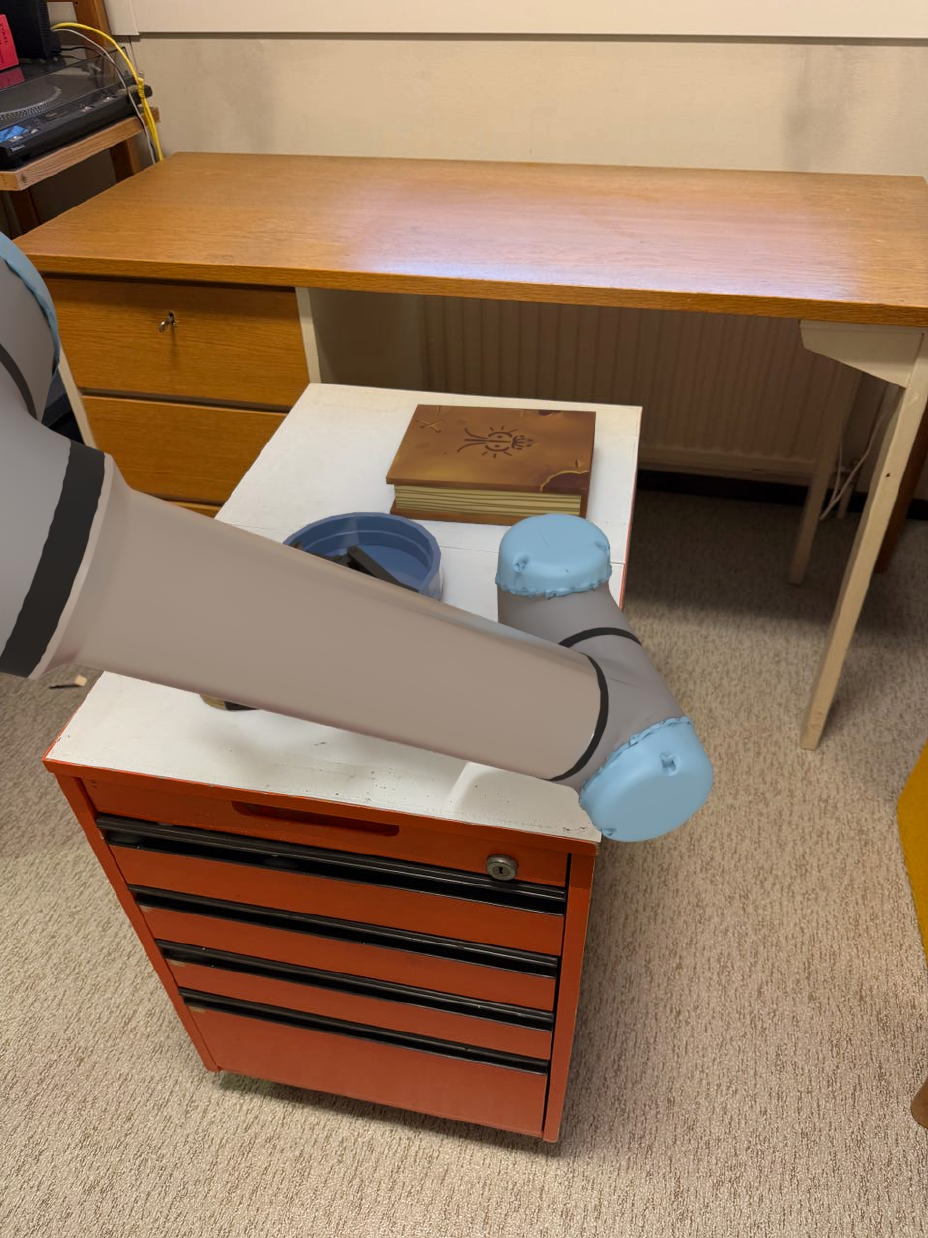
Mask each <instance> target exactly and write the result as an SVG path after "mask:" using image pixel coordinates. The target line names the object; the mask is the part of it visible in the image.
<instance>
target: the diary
mask: <svg viewBox="0 0 928 1238" xmlns="http://www.w3.org/2000/svg"><path fill="white" fill-rule="evenodd" d="M596 421H597V410H595V411H594V410H569V409H546V408H543V409H542V408H520V407H519V408H518V407H499V406H498V407H497V406H496V407H494V406H473V405H471V406H470V405H448V404H447V405H446V404H425V403H421V404H420V403H418V404H417V405H416V407H415V409H414V411H413V414H412V416H411V418H410V421H409V423H408V425H407V428H406V430H405V432H404V435H403V437H402V439H401V442H400V444H399V446H398V448H397V450H396V453H395V455H394V457H393V460H392V462H391V464H390V466H389V469H388V471H387V473H386V475H385V485H390V486H391V485H393V491H394V500H393V502H392V505H391V507H390V509H389V514H392V515H397V516H402V517H405V518H407V519H409V520H419V521H420V520H421V521H434V522H435V521H438V522H453V523H469V524H484V525H485V524H486V525H500V526H501V525H502V526H513V525H515V524H516V523H518V522H520V521H522V520H524V519H526V518H528V517H532V516H541V515H546V514H548V513H560V514H568V515H574V516H577V517H580V518H583V519H586V520H587V513H588V511H587V510H588V502H589V493H590V486H591V485H590V484H591V476H592V470H593V469H592V467H593V460H594V450H595V436H596V424H597V423H596Z"/></svg>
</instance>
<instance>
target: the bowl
mask: <svg viewBox="0 0 928 1238" xmlns="http://www.w3.org/2000/svg"><path fill="white" fill-rule="evenodd" d="M299 541H301V544H302V547H303V551H304V552H305V551H313V552H316V553H320V554H324V555H327V556H331V557H332V556H334V555H341V556H342V555H344V554H346V553H347V548H348V547H350V546H357V547H359V548H360V549H361V550H363V551H364V552H365V553H366V554H367V555H369V556H370V557H371V558H372V559H373V560H374V561H376V562H377V563H378V564H379V565H380V566H382V567H383V568H384V569H385V570H386V571H387V572H389V573H390V574H391V575H392V576H393V577H394V578H396V579H397V580H398V581H399V582H400V583H403V584H406V585H408V586H411V587H413V588H416V589H418V591H419V594H421V595H424V596H427V597H430V598H432V599H435V600H438V601H440V599H441V597H442V592H443V585H444V584H443V583H444V575H443V557H442V556H443V555H442V550H441V549H440V546H439V544H438V541H437V539H436V537H435V536H434V535H433V534H432V533H431V532H430V531H429V530H428V529H427V528H426V527H424V526H423V525H422V524H420V523H418V522H416V521H414V520H412V519H407V518H405V517H402V516H397V515H392V514H390V513H386V512H380V511H353V512H347V513H341V514H335V515H330V516H327V517H323V518H322V519H319V520H316V521H314V522H313V521H312V522H310V523H308V524H306V525H305V526H303V527H301V528H300V529H298V530H296V531H295V532H293V533H292V534H290V535H289V536H287V537H286V539H285V540H284V541H283V542H281V543H282V544H284V545H287V546H291V545H292V544H293V543H295V542H299Z"/></svg>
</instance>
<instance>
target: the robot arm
mask: <svg viewBox="0 0 928 1238" xmlns="http://www.w3.org/2000/svg"><path fill="white" fill-rule="evenodd" d="M59 335H60V334H59V323H58V317H57V312H56V307H55V304H54V301H53V299H52V296H51V293H50V291H49V289H48V287H47V285H46V283H45V281H44V280H43V278H42V276H41V274H40V273H39V271H38V269H37V268H36V267H35V265H34V264H33V263H32V261H31V260H30V259H29V258H28V256H27V255H26V254H25V253H24V252H23V250H21V249H20V248H19V246H17V245H16V243H14V242H13V241H12V239H10V237H8V236H6V235H5V234H4V233H3V232H2V231H0V673H3V674H7V675H12V676H16V677H20V678H24V679H28V680H32V681H35V680H38V679H40V678H42V677H44V676H46V675H48V674H50V673H51V672H54V671H56V670H58V669H60V668H62V667H65V666H67V665H72V664H75V665H79V666H82V667H87V668H91V669H96V670H99V671H103V672H107V673H111V674H115V675H120V676H124V677H128V678H131V679H136V680H139V681H144V682H147V683H152V684H156V685H160V686H164V687H168V688H172V689H176V690H180V691H184V692H188V693H192V694H196V695H199V694H200V695H204V696H208V697H212V698H216V699H220V700H223V703H224V706H225V708H226V709H227V711H229V712H234V711H236V712H237V711H265V712H269V713H272V714H276V715H281V716H285V717H288V718H293V719H297V720H301V721H305V722H308V723H309V722H310V723H313V724H318V725H321V726H325V727H329V728H334V729H337V730H340V731H341V730H342V731H346V732H349V733H354V734H357V735H362V736H366V737H368V738H369V737H370V738H374V739H377V740H382V741H386V742H390V743H394V744H398V745H402V746H405V747H409V748H410V747H411V748H414V749H418V750H422V751H426V752H430V753H434V754H439V755H443V756H446V757H450V758H454V759H458V760H463V761H467V762H470V763H474V764H479V765H483V766H486V767H490V768H494V769H498V770H503V771H507V772H511V773H515V774H519V775H522V776H528V777H532V778H535V779H539V780H542V781H545V782H549V783H552V784H557V785H560V786H564V787H568V788H571V789H573V790H574V791H575V792H576V794H577V796H578V801H577V803H578V805H579V807H580V809H581V810H582V811H584V812H586V814H587V816H588V818H589V820H590V822H591V823H592V825H593V827H594V828H595V829H596V830H597V831H598V832H599V833H601V834H602V835H603V837H606V838H607V839H610V840H613V841H616V842H621V843H635V842H643V841H648V840H653V839H656V838H658V837H659V838H660V837H661V836H665V835H666V834H668V833H670V832H673V831H674V830H676V829H678V828H679V827H681V826H683V825H684V824H685V823H687V822H688V821H689V820H690V819H691V817H692V816H693V815H694V814H695V813H696V812H697V811H698V810H700V809H701V808H702V807H703V806H704V805H705V804H706V802H707V800H708V799H709V797H710V795H711V792H712V790H713V787H714V779H715V774H714V768H713V764H712V762H711V759H710V758H709V755H708V754H707V752H706V750H705V747H704V745H703V743H702V742H701V740H700V738H699V736H698V734H697V731H696V727H695V723H694V721H693V720H692V719H691V718H690V716H687V715H686V714H685V712H684V710H683V708H682V706H681V705H680V703H679V702H678V700H677V699H676V697H675V696H674V694H673V692H672V691H671V689H670V688H669V687H668V685H667V683H666V682H665V680H664V679H663V677H662V675H661V674H660V671H658V669H657V668H656V666H655V664H654V663H653V661H652V660H651V658H650V657H649V655H648V653H647V652H646V649H644V646H643V645H642V643H641V641H640V639H639V638H638V636H637V634H636V632H635V631H634V629H633V628H632V626H631V624H630V622H629V621H628V619H627V618H626V616H625V614H624V613H623V611H622V609H621V608H620V606H619V605H618V603H617V601H616V600H615V598H614V596H613V595H612V593H611V590H610V578H611V577H612V575H613V565H612V564H611V544H610V540H609V539H608V537H607V535H606V534H605V532H604V531H603V530H602V529H601V528H600V527H599V526H598V525H597V524H595V523H593V522H591V521H590V520H588V519H587V518H586V519H583V518H580V517H577V516H574V515H568V514H560V513H548V514H546V515H541V516H532V517H528V518H526V519H524V520H522V521H520V522H518V523H516V524H515V525H511V527H510V528H508V530H507V531H505V533H504V534H503V536H502V537H501V539H500V542H499V545H498V555H497V567H496V573H495V577H494V584H495V585H496V597H497V598H496V600H497V602H496V603H497V604H496V605H497V621H495V620H492V619H489V618H487V617H484V616H481V615H479V614H476V613H473V612H470V611H468V610H465V609H462V608H459V607H457V606H454V605H451V604H449V603H446V602H443V601H440V600H435V599H432V598H430V597H427V596H424V595H421V594H419V591H418V589H416V588H413V587H411V586H408V585H406V584H403V583H400V582H399V581H398V580H397V579H396V578H394V577H393V576H392V575H391V574H390V573H389V572H387V571H386V570H385V569H384V568H383V567H382V566H380V565H379V564H378V563H377V562H376V561H374V560H373V559H372V558H371V557H370V556H369V555H367V554H366V553H365V552H364V551H363V550H361V549H360V548H359V547H357V546H350V547H348V548H347V553H346V554H344V555H342V556H341V555H334V556H332V557H331V556H327V555H324V554H320V553H316V552H313V551H305V552H304V551H301V550H298V549H295V548H293V547H290V546H287V545H284V544H282V543H283V542H278V541H276V540H274V539H271V538H267V537H265V536H263V535H260V534H257V533H254V532H252V531H250V530H249V531H248V530H246V529H244V528H241V527H238V526H235V525H232V524H229V523H227V522H224V521H221V520H219V519H216V518H213V517H210V516H208V515H205V514H203V513H200V512H196V511H194V510H191V509H188V508H185V507H184V506H181V505H178V504H174V503H172V502H169V501H167V500H165V499H164V500H163V499H162V498H158V497H155V496H153V495H151V494H147V493H145V492H142V491H139V490H136V489H134V488H132V487H131V486H129V484H128V483H127V481H126V480H125V478H124V476H123V475H122V472H121V470H120V468H119V466H118V465H117V463H116V462H115V460H114V457H113V456H112V454H109V453H107V452H105V451H103V450H100V449H97V448H94V447H92V446H90V445H86V444H83V443H81V442H79V441H76V440H73V439H70V438H68V437H67V436H64V435H62V434H60V433H59V432H56V431H54V430H52V429H50V428H48V427H47V426H46V425H44V424H43V423H42V421H43V417H44V412H45V408H46V404H47V400H48V395H49V390H50V386H51V384H52V383H53V381H54V379H55V378H56V375H57V374H56V373H57V369H58V367H59V365H60V363H61V358H60V357H61V348H62V345H61V338H60V336H59ZM200 695H199V696H200ZM226 709H225V710H226Z"/></svg>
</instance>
